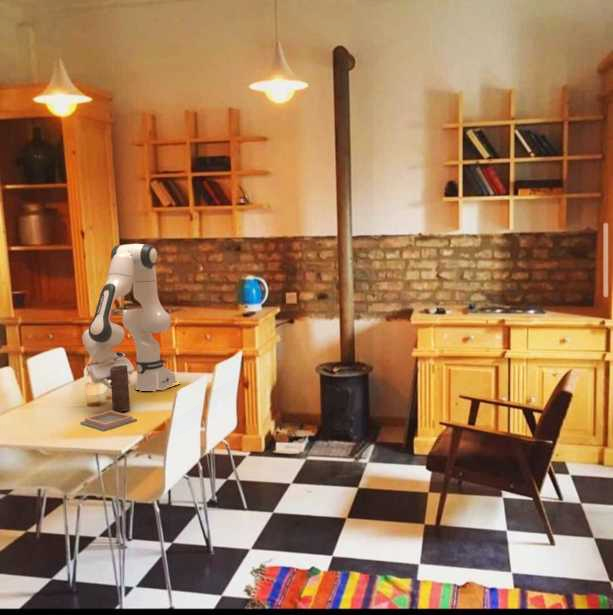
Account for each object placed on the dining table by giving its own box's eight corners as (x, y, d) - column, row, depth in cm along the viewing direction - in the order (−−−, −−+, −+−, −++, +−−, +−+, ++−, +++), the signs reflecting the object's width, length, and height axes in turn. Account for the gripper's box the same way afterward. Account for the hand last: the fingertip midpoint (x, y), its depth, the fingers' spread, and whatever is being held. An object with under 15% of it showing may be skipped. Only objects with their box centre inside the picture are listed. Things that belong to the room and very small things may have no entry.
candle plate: (113, 414, 294) (112, 409, 294) (136, 421, 284) (136, 415, 284) (80, 424, 282) (80, 418, 281) (104, 431, 272) (103, 425, 271)
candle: (126, 413, 295) (124, 368, 292) (110, 413, 295) (107, 368, 292) (132, 408, 302) (129, 364, 299) (116, 408, 303) (113, 364, 300)
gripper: (87, 360, 291) (102, 386, 287) (126, 352, 307) (142, 376, 303) (81, 369, 295) (96, 395, 290) (121, 360, 311) (136, 384, 306)
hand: (120, 385), depth 296 cm, fingers open, 8 cm apart
